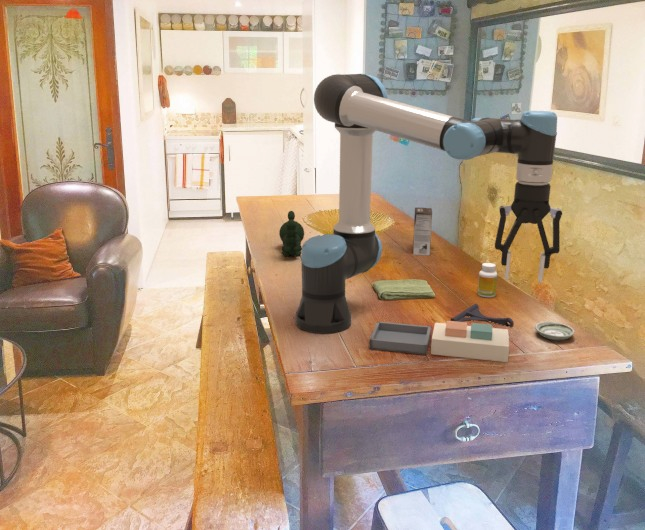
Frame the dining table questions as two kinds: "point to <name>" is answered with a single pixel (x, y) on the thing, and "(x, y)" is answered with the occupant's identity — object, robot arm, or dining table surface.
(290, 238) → the toy figurine
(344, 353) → the dining table surface
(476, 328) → the green glazed tile
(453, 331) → the terracotta tile
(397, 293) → the washcloth
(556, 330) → the saucer
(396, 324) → the tray
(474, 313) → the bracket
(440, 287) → the dining table surface
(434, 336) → the cream board
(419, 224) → the coffee box
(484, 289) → the supplement bottle
